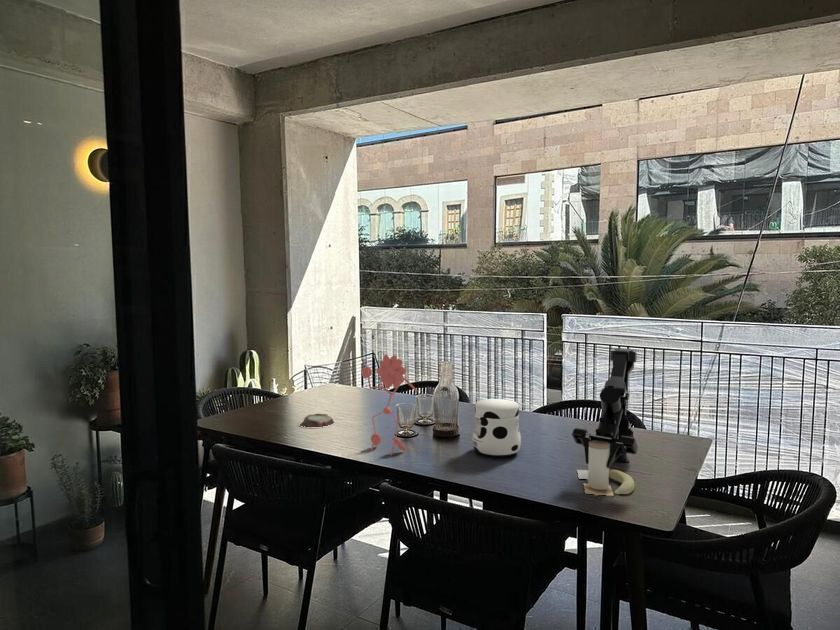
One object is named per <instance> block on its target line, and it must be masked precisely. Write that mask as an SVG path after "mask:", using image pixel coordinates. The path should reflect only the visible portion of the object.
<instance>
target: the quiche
mask: <svg viewBox="0 0 840 630" xmlns="http://www.w3.org/2000/svg"><path fill="white" fill-rule="evenodd" d="M301 422H302V423H301ZM301 422H300V423H301V424H300V426H303V427H304V426H305V427H322V428H324V427H323V426H328V425H331V424H333V423H334V424H335V421H334V419H333V418H332V417H331V416H329V415H328V414H327V413H314V414H307V415H306V416H304V419H303V421H301ZM334 424H333V425H334ZM300 426H299V427H300ZM331 426H332V425H331ZM303 427H302V428H303ZM328 427H329V426H328Z"/></svg>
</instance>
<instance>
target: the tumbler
mask: <svg viewBox="0 0 840 630" xmlns="http://www.w3.org/2000/svg"><path fill="white" fill-rule="evenodd" d="M609 456H610V443H608V442H606V441H601V440H593V441H589V459H588V464H587V465H588V466H587V467H588V469H587V470H588V480H587V484H588V486H589V487H591V488H594V489H607V488H608V487H609V485H610V478H609V470H610V468H607V463H608V459H609Z"/></svg>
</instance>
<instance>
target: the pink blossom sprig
mask: <svg viewBox="0 0 840 630" xmlns="http://www.w3.org/2000/svg"><path fill="white" fill-rule="evenodd" d="M402 364H403V360H402V359H401V358H397V355H396V354H393V355H392V356H391V357H390V356H389V355H388V354H384V355H383V359H380V362H379V365H380V367H379V368H377V369H376V373H377V375H379V376H380V379H379V381H380V382H381V383H383V384H382V385H381V386H371V378H370V377H371V376H372V373H373V371H372V368H370V366H368V365H367V366H365V367H363V368H362V369H361V376H362V378H364V379H367V381H368V388H369V389H380V390H383V391H385V392H387V394H389V398H388V403H387V406H385V407H384V408H383V410H382V412H379V413H377V414H376V415H373V416H372V424H373V430H374V433H372V435H371V436H370V441H371V443H372V444H371V448H370V451H371V452H372V451H373V449H374V446H375V447H377V446H378V445H380V444H381V442H383V443H384V442H385V443H386V442H387V443H388V442H389V443H393V445H392V449H391V452H390V456H393V453H394V449H395V446H397V447H398V448H399V449H400V450H402V451H403V452H404V453H405V452H406V448H405V445H406V443H405V442H403V441H400V439H398V437H397V436H398V419H397V418H396V417H395V416H394V414H393V413H392V412H391V408H390V406H389V405H390V402H391V398H392V396H394V394H395V393H396V392H397V390H398V388H399V387H400V386H401V384H403V383H404V382H405V383H406V384H408V386H409V387H411V388H412V390H414V391H415V392H417V393H418V392H419V390H417V388H416V387H415V385H413V384H412V383H411V382H410V381H409V380H408V379H407V378H405V377H404V375H405V374H406V373H407V370H406V368H405V367H404V366H402ZM392 386H393V387H394V388H395V389H393V392H391V391H390V390H388V389H390V388H391V387H392ZM383 413H384V414H385V415H389V414H391V416H392V418H394V420H395V422H396V423H395V424H396V425H395V426H396V427H395V436H394V437H393V438H392V441H390V440H383V441H382V438H381V435H380V434H379V433H377V431H376V427H375V421H374V420H375V419H374V418H375V417H377V416H379V415H381V414H383ZM407 444H408V443H407ZM408 446H410V447H412V445H410V444H408ZM405 458H406V459H407V456H406V457H404V459H405Z"/></svg>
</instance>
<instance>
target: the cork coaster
mask: <svg viewBox="0 0 840 630" xmlns="http://www.w3.org/2000/svg"><path fill="white" fill-rule="evenodd" d="M582 485H584V486H583V490H584V489H585V490H584V493H586V494H594V495H593V496H598V495H606V496H605V497H613V496H614V495H615V494H614V491H613V489H612V486H611V485H610V484H609V487H608V488H607V489H594V488H591V487H589V486H588V483H585V482H584V483H582ZM586 494H585V495H586ZM614 497H615V496H614Z"/></svg>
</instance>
